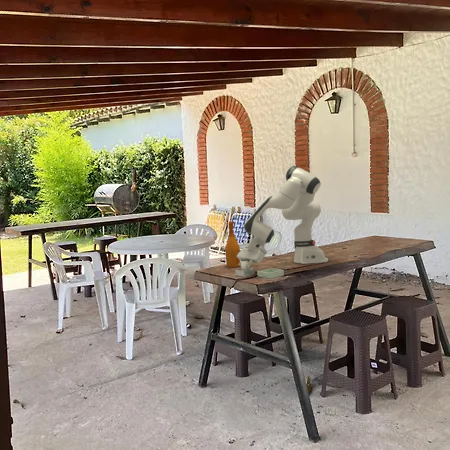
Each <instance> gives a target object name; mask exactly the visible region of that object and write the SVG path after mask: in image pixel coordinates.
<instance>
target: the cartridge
mask: <svg viewBox="0 0 450 450" xmlns="http://www.w3.org/2000/svg"><path fill="white" fill-rule="evenodd" d="M248 263H249V261H247V258H241V266H240V269H241V270H248V267H246V265H247V264H248Z"/></svg>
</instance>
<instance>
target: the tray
mask: <svg viewBox="0 0 450 450" xmlns="http://www.w3.org/2000/svg"><path fill="white" fill-rule="evenodd" d="M256 272H257V277H259V278H265V279H273V278H278V277H284V276H285V270H284V269H280V268H273V267H269V268H266V269H260V270H257V271H256Z"/></svg>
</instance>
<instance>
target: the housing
mask: <svg viewBox="0 0 450 450" xmlns="http://www.w3.org/2000/svg"><path fill="white" fill-rule="evenodd" d="M237 275H238V277H242V276H243V277H244V278H246V277H250V276H254V275H255V269H254V268H252V267H251V268H250V267H249V268H248V270H241V268H237V269H235V276H237Z"/></svg>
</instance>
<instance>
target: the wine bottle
mask: <svg viewBox="0 0 450 450" xmlns="http://www.w3.org/2000/svg"><path fill="white" fill-rule="evenodd" d="M227 224H228V229H229V230H228V232H229V233H228V238H227V241H226V243H225V244H226V245H225V248H224V249H225V251H224V252H225V261H226V266H227V267H228V268H239V267H240V266H239V263H240V260H239V259H238V258H237V255H238V253H239V252H240V251H241V247H240V244H239V242H238V238H237V236H236V235H235V233H234V222H233V221H228V223H227Z"/></svg>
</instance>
